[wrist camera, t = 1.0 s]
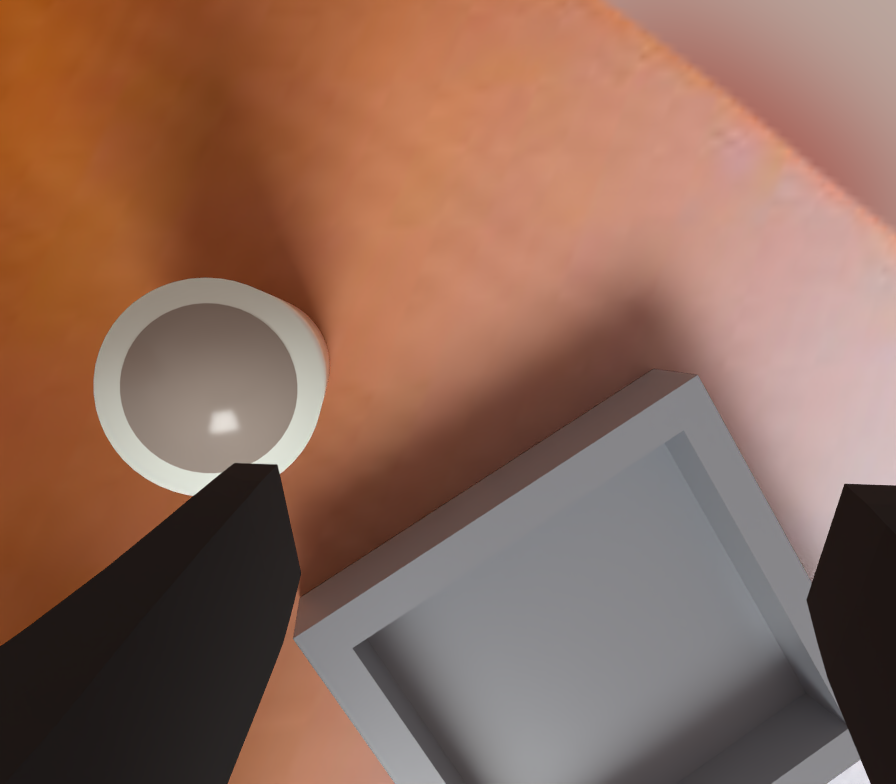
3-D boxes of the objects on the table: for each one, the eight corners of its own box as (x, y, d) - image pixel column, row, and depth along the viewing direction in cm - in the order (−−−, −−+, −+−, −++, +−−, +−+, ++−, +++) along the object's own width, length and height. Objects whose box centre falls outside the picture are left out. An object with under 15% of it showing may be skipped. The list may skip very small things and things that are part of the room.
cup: (237, 462, 22) (177, 539, 14) (155, 343, 21) (45, 353, 13) (356, 387, 22) (363, 422, 14) (279, 268, 22) (243, 235, 14)
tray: (516, 910, 25) (539, 989, 22) (299, 597, 23) (293, 638, 20) (832, 688, 26) (894, 734, 23) (654, 368, 24) (697, 374, 21)
